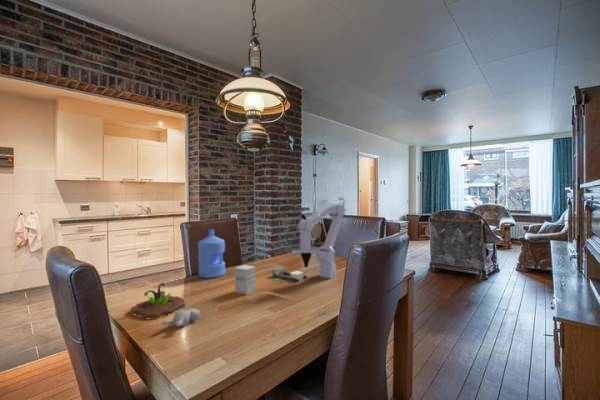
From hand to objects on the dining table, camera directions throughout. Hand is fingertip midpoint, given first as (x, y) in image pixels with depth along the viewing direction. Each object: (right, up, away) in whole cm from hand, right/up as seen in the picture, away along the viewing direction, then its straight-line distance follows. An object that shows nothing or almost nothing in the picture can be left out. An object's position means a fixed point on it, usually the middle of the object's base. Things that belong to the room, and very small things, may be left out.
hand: (306, 266), depth 155 cm
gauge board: (-10, -9, +6) cm, 15 cm away
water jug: (-57, -10, +20) cm, 61 cm away
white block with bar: (-6, -8, +2) cm, 10 cm away
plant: (-65, -12, -31) cm, 72 cm away
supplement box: (-31, -10, -11) cm, 34 cm away
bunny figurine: (-48, -12, -46) cm, 67 cm away
